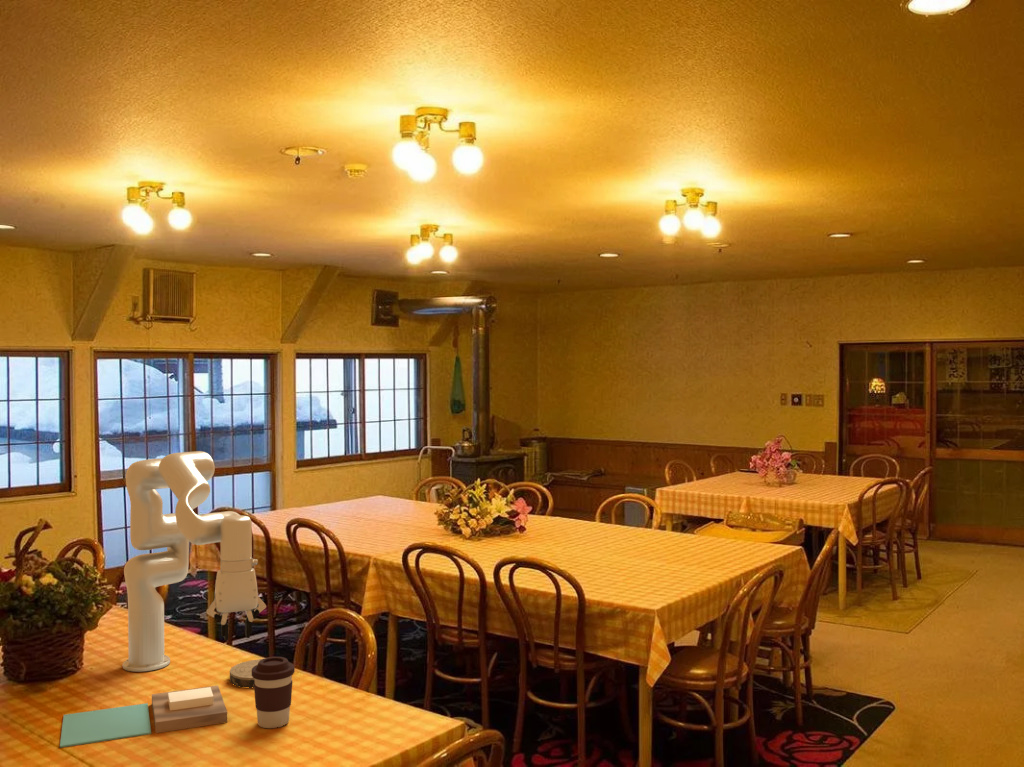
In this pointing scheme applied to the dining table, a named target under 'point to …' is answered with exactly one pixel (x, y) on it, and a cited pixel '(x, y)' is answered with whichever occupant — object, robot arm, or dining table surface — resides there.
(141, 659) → the robot arm
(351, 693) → the dining table surface
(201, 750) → the dining table surface
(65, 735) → the mat
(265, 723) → the coffee cup
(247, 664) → the wood slice coaster
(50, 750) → the dining table surface
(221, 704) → the panel
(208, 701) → the cream foam board
